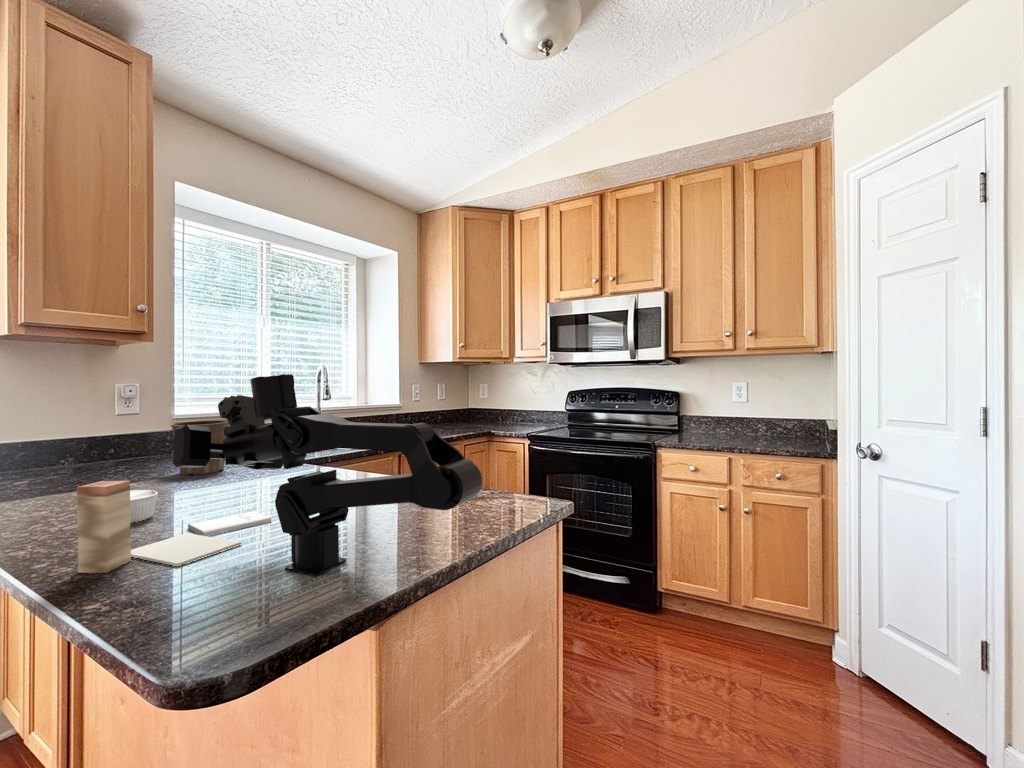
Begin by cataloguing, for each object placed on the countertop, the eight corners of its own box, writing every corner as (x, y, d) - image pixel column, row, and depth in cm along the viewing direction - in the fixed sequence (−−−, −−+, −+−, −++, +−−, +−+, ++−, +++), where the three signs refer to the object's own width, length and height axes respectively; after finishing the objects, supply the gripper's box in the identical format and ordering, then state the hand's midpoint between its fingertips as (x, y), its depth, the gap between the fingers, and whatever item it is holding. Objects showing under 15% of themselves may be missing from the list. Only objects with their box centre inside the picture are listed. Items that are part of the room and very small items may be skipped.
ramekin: (157, 521, 103) (157, 496, 103) (86, 531, 96) (86, 504, 96) (158, 510, 112) (158, 487, 112) (94, 518, 106) (94, 494, 106)
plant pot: (185, 478, 148) (185, 425, 148) (161, 473, 157) (160, 423, 157) (240, 470, 162) (239, 421, 162) (215, 466, 171) (214, 419, 171)
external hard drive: (187, 532, 97) (253, 517, 106) (203, 540, 92) (271, 524, 101) (187, 523, 97) (253, 510, 106) (203, 531, 92) (271, 516, 101)
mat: (241, 545, 87) (241, 541, 87) (177, 567, 76) (177, 563, 76) (187, 536, 92) (187, 533, 92) (122, 555, 82) (121, 552, 82)
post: (130, 561, 79) (129, 480, 79) (107, 572, 75) (105, 486, 75) (103, 561, 79) (102, 480, 79) (78, 572, 75) (76, 486, 75)
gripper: (309, 402, 90) (247, 416, 96) (214, 384, 73) (145, 402, 79) (310, 463, 87) (246, 474, 93) (211, 459, 70) (140, 473, 76)
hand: (199, 456), depth 85 cm, fingers open, 9 cm apart
